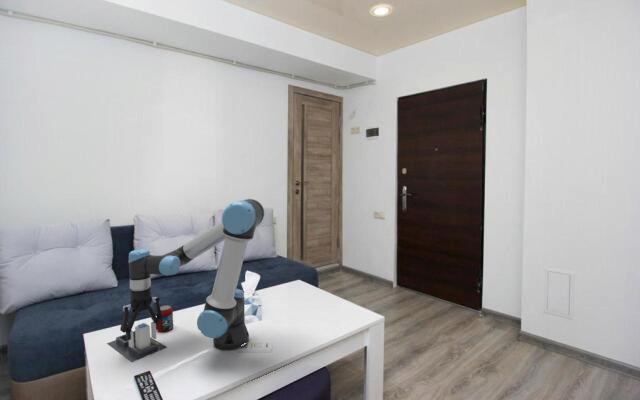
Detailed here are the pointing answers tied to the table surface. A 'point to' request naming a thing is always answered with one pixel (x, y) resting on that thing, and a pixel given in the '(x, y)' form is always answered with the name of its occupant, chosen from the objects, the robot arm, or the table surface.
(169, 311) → the beverage can
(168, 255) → the robot arm
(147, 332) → the plug
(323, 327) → the table surface
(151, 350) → the grey socket board
